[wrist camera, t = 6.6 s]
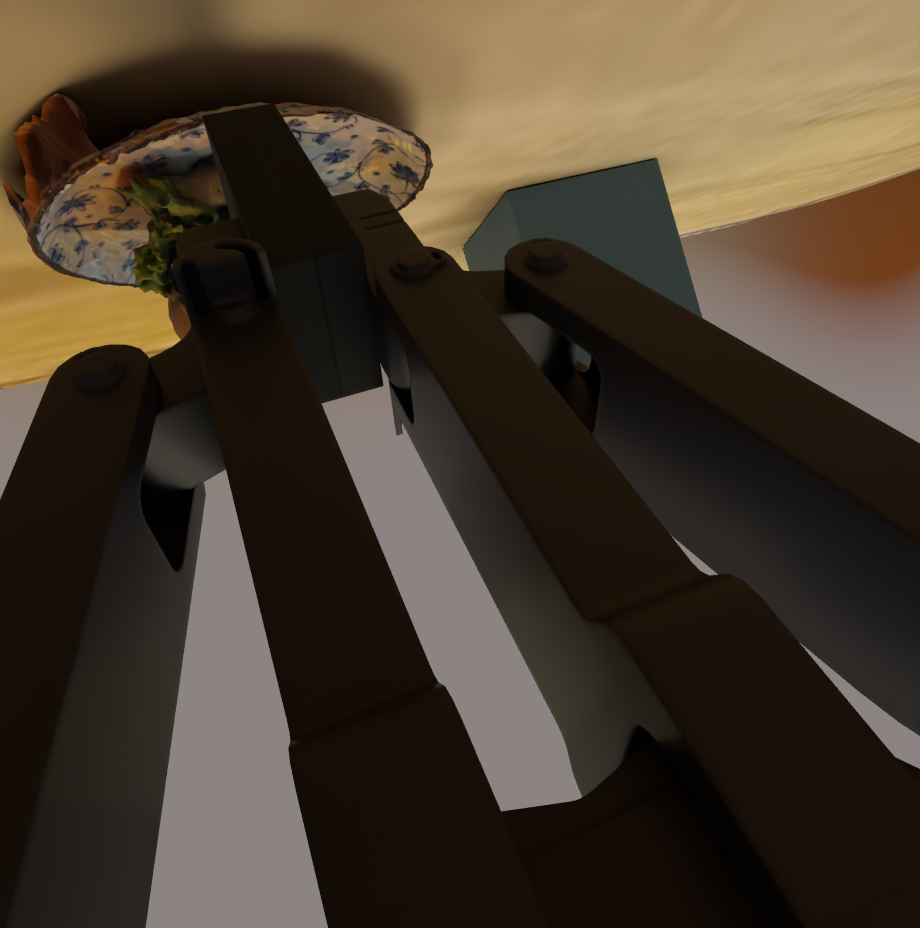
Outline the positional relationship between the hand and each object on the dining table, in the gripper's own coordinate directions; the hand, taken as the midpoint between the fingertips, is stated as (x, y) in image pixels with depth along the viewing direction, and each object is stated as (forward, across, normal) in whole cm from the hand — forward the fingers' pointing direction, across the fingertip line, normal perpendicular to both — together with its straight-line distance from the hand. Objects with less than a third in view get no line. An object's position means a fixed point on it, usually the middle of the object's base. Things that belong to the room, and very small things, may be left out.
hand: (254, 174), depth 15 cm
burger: (+7, 0, -2) cm, 7 cm away
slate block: (+15, +16, -11) cm, 24 cm away
